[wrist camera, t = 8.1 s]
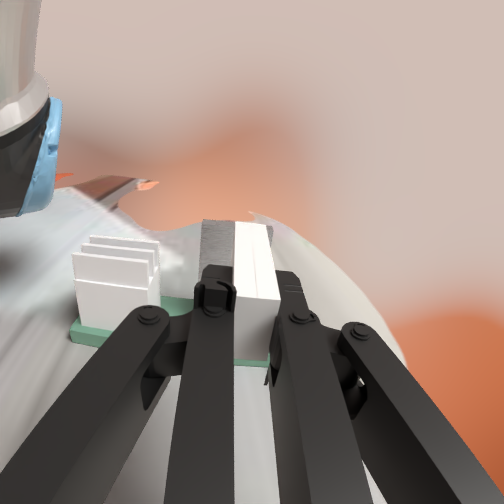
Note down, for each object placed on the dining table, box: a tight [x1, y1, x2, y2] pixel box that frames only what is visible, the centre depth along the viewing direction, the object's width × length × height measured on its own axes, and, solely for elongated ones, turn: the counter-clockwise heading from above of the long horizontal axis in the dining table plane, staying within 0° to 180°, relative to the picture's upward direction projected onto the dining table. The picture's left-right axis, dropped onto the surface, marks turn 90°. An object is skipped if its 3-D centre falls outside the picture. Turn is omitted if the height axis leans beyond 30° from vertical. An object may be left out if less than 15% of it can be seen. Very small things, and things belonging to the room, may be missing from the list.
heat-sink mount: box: [69, 235, 270, 367], centre depth 30 cm, size 20×8×9 cm, turn 91°
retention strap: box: [198, 219, 273, 282], centre depth 31 cm, size 6×4×10 cm, turn 91°
